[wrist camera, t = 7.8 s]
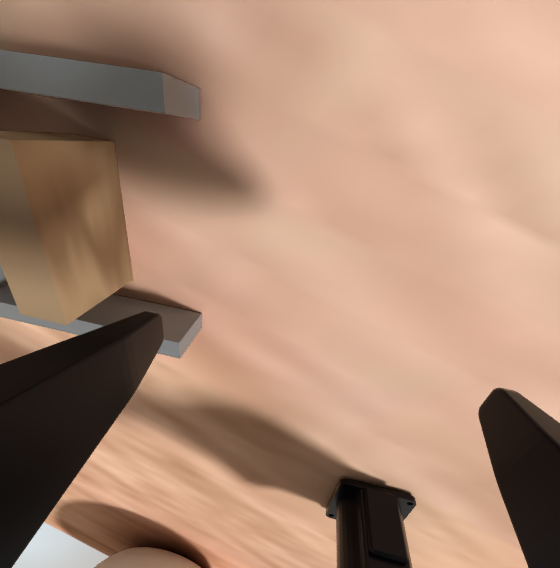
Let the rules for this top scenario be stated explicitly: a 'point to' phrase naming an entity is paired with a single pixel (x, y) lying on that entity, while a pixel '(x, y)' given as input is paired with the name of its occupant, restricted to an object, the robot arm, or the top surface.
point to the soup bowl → (146, 559)
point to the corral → (117, 93)
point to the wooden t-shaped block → (61, 223)
